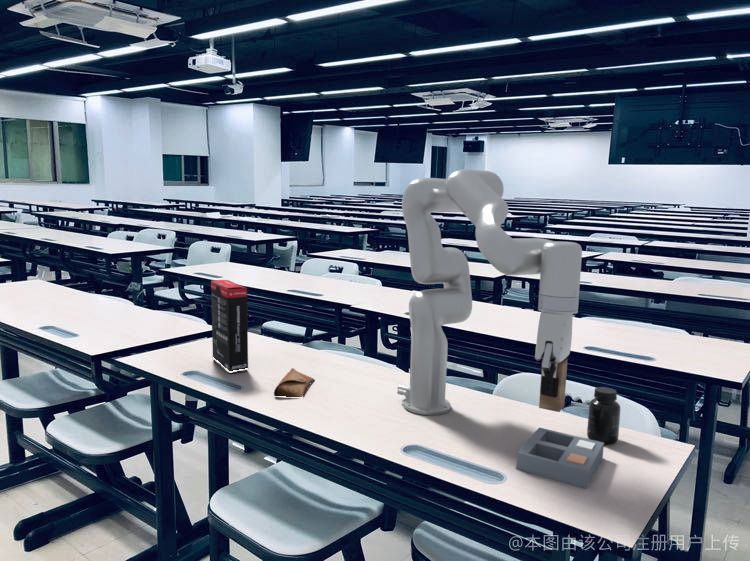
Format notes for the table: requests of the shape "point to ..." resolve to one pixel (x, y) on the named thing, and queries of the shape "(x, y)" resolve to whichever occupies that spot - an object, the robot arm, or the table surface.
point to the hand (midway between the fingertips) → (552, 391)
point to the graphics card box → (229, 324)
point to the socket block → (560, 457)
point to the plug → (558, 401)
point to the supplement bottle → (604, 416)
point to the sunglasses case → (293, 384)
